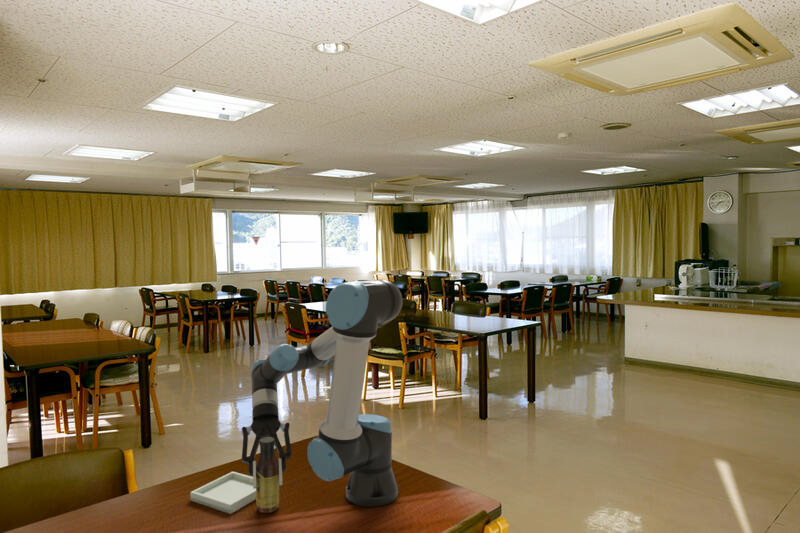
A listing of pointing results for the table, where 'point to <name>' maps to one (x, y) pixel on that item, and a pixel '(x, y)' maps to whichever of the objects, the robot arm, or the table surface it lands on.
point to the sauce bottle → (267, 477)
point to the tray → (226, 492)
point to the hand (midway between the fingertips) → (267, 484)
